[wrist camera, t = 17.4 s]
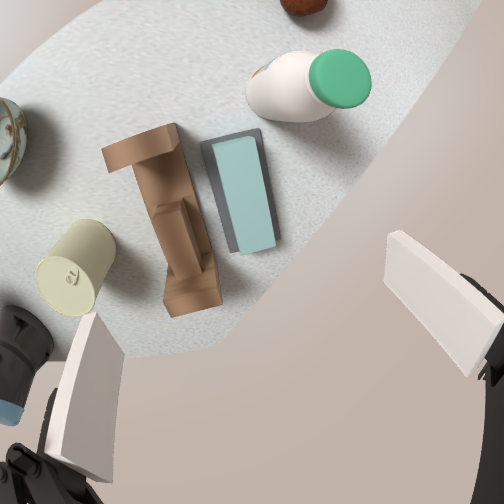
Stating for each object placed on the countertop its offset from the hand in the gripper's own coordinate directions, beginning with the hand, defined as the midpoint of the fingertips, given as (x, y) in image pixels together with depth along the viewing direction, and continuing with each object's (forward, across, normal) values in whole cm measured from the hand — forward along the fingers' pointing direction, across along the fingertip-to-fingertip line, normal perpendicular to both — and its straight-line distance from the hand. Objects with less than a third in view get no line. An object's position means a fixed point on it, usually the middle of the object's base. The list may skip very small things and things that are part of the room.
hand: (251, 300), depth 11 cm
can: (+29, -21, -6) cm, 37 cm away
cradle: (+29, -6, -3) cm, 30 cm away
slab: (+28, +4, -4) cm, 29 cm away
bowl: (+29, -29, +16) cm, 44 cm away
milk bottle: (+29, +10, +9) cm, 32 cm away
